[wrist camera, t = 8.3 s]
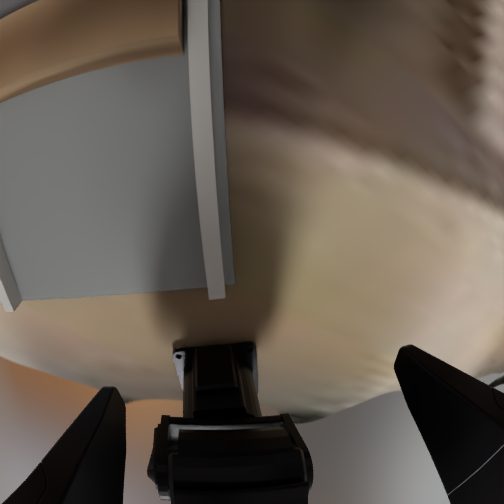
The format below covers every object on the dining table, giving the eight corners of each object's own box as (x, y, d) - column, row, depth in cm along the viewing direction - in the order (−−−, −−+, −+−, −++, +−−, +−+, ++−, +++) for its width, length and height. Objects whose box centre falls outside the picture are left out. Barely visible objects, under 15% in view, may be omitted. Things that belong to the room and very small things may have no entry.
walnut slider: (183, 54, 13) (177, 35, 10) (-18, 111, 12) (-57, 116, 8) (183, -6, 11) (178, -37, 8) (-17, 58, 10) (-54, 54, 6)
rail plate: (233, 276, 20) (240, 311, 17) (13, 294, 18) (-10, 323, 15) (218, -37, 11) (222, -69, 8) (-23, 35, 9) (-55, 29, 6)
